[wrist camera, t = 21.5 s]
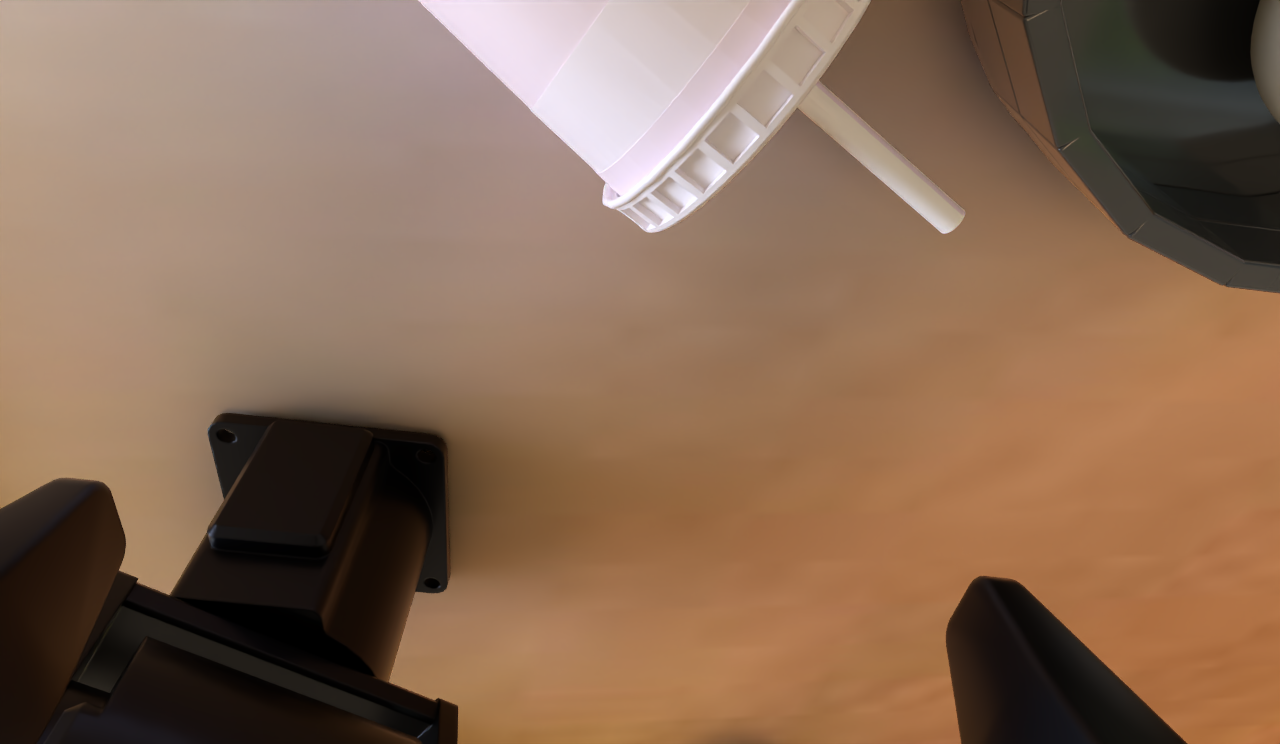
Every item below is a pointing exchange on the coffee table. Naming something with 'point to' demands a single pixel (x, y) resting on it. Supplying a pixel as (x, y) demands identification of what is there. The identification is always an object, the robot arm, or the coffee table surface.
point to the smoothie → (680, 90)
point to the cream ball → (1267, 54)
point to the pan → (1148, 120)
